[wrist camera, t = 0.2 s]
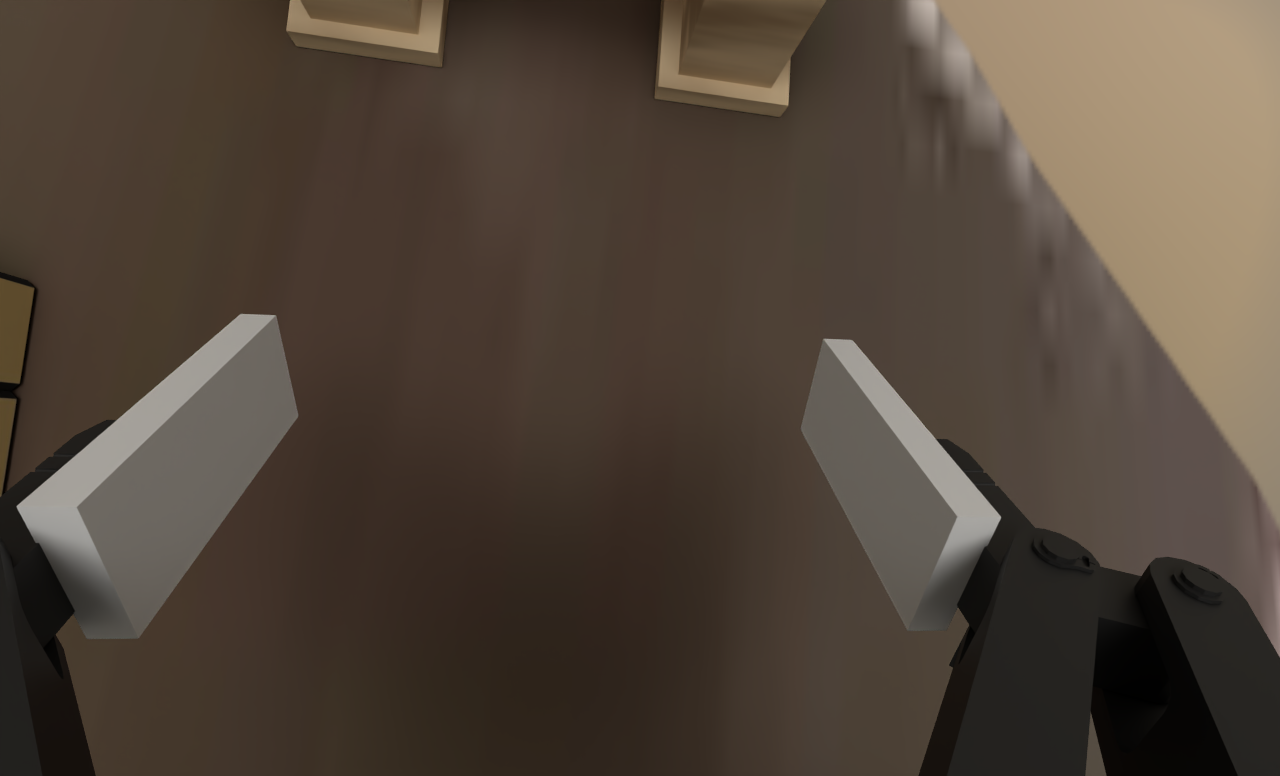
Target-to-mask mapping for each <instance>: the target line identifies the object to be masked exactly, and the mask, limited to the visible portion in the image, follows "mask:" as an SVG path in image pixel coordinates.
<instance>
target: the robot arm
mask: <svg viewBox="0 0 1280 776" xmlns="http://www.w3.org/2000/svg"><path fill="white" fill-rule="evenodd" d="M297 417H298V412H297V407H296V403H295V398H294V394H293V390H292V385H291V381H290V376H289V372H288V367H287V363H286V358H285V354H284V349H283V345H282V340H281V336H280V331H279V327H278V322H277V318H276V315H253V314H240V315H239V316H238V317H237V318H236V319H234V320H233V321H232V322H231V323H230V324H229V325H227V326H226V327H225V328H224V329H223V330H222V331H220V332H219V333H218V334H217V335H216V336H215V337H213V338H212V339H211V340H210V341H209V342H208V343H206V344H205V345H204V346H203V347H202V348H201V349H199V350H198V351H197V352H196V353H195V354H194V355H192V356H191V357H190V358H189V359H188V360H187V361H185V362H184V363H183V364H182V365H181V366H180V367H178V368H177V369H176V370H175V371H174V372H173V373H171V374H170V375H169V376H168V377H167V378H166V379H164V380H163V381H162V382H161V383H160V384H159V385H157V386H156V387H155V388H154V389H153V390H152V391H150V392H149V393H148V394H147V395H146V396H145V397H143V398H142V399H141V400H140V401H139V402H138V403H136V404H135V405H134V406H133V407H132V408H131V409H129V410H128V411H127V412H126V413H125V414H124V415H122V416H121V417H120V418H119V419H118V420H106V421H104V422H102V423H100V424H97V425H95V426H93V427H91V428H89V429H87V430H85V431H83V432H81V433H79V434H77V435H75V436H74V437H73V438H72V439H70V440H69V441H68V442H67V443H66V444H64V445H63V446H62V447H61V448H59V449H58V450H57V451H56V452H55V453H54V456H53V457H48V458H47V459H46V460H45V461H44V462H42V463H41V464H40V465H39V466H37V467H36V468H35V469H36V470H35V472H30V473H29V474H28V475H26V476H25V477H24V478H23V479H21V480H20V481H19V482H18V483H17V484H15V485H14V486H13V487H12V488H10V489H9V490H8V491H7V492H6V493H4V494H3V495H2V496H1V497H0V776H96V775H95V771H94V767H93V763H92V759H91V755H90V751H89V747H88V743H87V740H86V736H85V732H84V728H83V724H82V720H81V716H80V712H79V708H78V704H77V700H76V696H75V692H74V688H73V684H72V680H71V676H70V672H69V668H68V664H67V661H66V657H65V653H64V649H63V647H62V645H61V643H60V642H59V640H58V638H57V636H56V633H57V632H58V631H59V630H60V628H61V627H62V626H63V625H64V624H65V623H66V621H67V620H68V619H69V618H70V617H71V616H72V614H74V616H75V618H76V620H77V621H78V623H79V625H80V627H81V629H82V631H83V633H84V635H85V636H86V638H87V639H127V638H139V637H140V635H141V634H142V633H143V631H144V630H145V629H146V627H147V626H148V624H149V623H150V622H151V620H152V619H153V617H154V616H155V615H156V613H157V612H158V610H159V609H160V608H161V606H162V605H163V604H164V602H165V601H166V599H167V598H168V597H169V595H170V594H171V592H172V591H173V590H174V588H175V587H176V585H177V584H178V583H179V581H180V580H181V579H182V577H183V576H184V574H185V573H186V572H187V570H188V569H189V567H190V566H191V565H192V563H193V562H194V560H195V559H196V558H197V556H198V555H199V554H200V552H201V551H202V549H203V548H204V547H205V545H206V544H207V542H208V541H209V540H210V538H211V537H212V535H213V534H214V533H215V531H216V530H217V528H218V527H219V526H220V524H221V523H222V522H223V520H224V519H225V517H226V516H227V515H228V513H229V512H230V510H231V509H232V508H233V506H234V505H235V503H236V502H237V501H238V499H239V498H240V497H241V495H242V494H243V492H244V491H245V490H246V488H247V487H248V485H249V484H250V483H251V481H252V480H253V478H254V477H255V476H256V474H257V473H258V472H259V470H260V469H261V467H262V466H263V465H264V463H265V462H266V460H267V459H268V458H269V456H270V455H271V453H272V452H273V451H274V449H275V448H276V447H277V445H278V444H279V442H280V441H281V440H282V438H283V437H284V435H285V434H286V433H287V431H288V430H289V428H290V427H291V426H292V424H293V423H294V422H295V420H296V419H297ZM801 431H802V433H803V435H804V437H805V439H806V441H807V442H808V444H809V446H810V448H811V450H812V452H813V454H814V456H815V458H816V459H817V461H818V463H819V465H820V467H821V469H822V471H823V473H824V474H825V476H826V478H827V480H828V482H829V484H830V486H831V488H832V489H833V491H834V493H835V495H836V497H837V499H838V501H839V503H840V505H841V506H842V508H843V510H844V512H845V514H846V516H847V518H848V520H849V521H850V523H851V525H852V527H853V529H854V531H855V533H856V535H857V537H858V538H859V540H860V542H861V544H862V546H863V548H864V550H865V552H866V553H867V555H868V557H869V559H870V561H871V563H872V565H873V567H874V569H875V570H876V572H877V574H878V576H879V578H880V580H881V582H882V584H883V585H884V587H885V589H886V591H887V593H888V595H889V597H890V599H891V600H892V602H893V604H894V606H895V608H896V610H897V612H898V614H899V616H900V617H901V619H902V621H903V623H904V625H905V627H906V629H907V631H933V630H947V629H948V627H949V625H950V622H951V620H952V618H953V616H954V614H955V612H956V610H957V608H959V609H960V611H961V612H962V614H963V615H964V617H965V619H966V620H967V622H968V623H969V627H968V629H967V631H966V633H965V635H964V637H963V639H962V641H961V643H960V645H959V647H958V648H957V650H956V652H955V654H954V656H953V658H952V660H951V662H950V664H949V666H951V667H953V670H952V673H951V676H950V679H949V683H948V686H947V689H946V692H945V695H944V698H943V701H942V704H941V707H940V710H939V714H938V717H937V720H936V723H935V726H934V729H933V732H932V735H931V738H930V742H929V745H928V748H927V751H926V754H925V757H924V760H923V763H922V766H921V770H920V773H919V776H1085V770H1086V759H1087V747H1088V735H1089V723H1090V711H1091V714H1092V718H1093V722H1094V726H1095V730H1096V734H1097V738H1098V742H1099V746H1100V750H1101V754H1102V758H1103V762H1104V766H1105V770H1106V775H1107V776H1280V657H1279V656H1278V654H1277V652H1276V650H1275V649H1274V647H1273V645H1272V644H1271V642H1270V640H1269V638H1268V637H1267V635H1266V633H1265V632H1264V630H1263V628H1262V626H1261V625H1260V623H1259V621H1258V620H1257V618H1256V616H1255V614H1254V613H1253V611H1252V609H1251V608H1250V606H1249V604H1248V602H1247V601H1246V600H1245V598H1244V597H1243V596H1242V595H1241V594H1240V592H1239V591H1238V590H1237V589H1236V588H1235V587H1233V586H1232V585H1231V584H1230V583H1228V582H1227V581H1226V580H1224V579H1223V578H1222V577H1221V576H1220V575H1218V574H1216V573H1215V572H1213V571H1209V569H1207V568H1205V567H1203V566H1201V565H1197V564H1194V563H1191V562H1189V561H1186V560H1182V559H1177V558H1171V557H1163V558H1156V559H1155V560H1153V561H1152V562H1151V563H1150V564H1149V566H1148V567H1147V569H1146V570H1145V572H1144V573H1143V575H1142V576H1138V575H1133V574H1129V573H1125V572H1121V571H1116V570H1112V569H1108V568H1103V567H1100V564H1099V563H1098V561H1097V560H1096V559H1095V558H1094V556H1093V555H1092V554H1091V553H1090V552H1089V551H1088V550H1086V549H1085V548H1084V547H1082V546H1081V545H1080V544H1078V543H1077V542H1075V541H1074V540H1072V539H1070V538H1068V537H1066V536H1064V535H1062V534H1059V533H1056V532H1053V531H1050V530H1046V529H1040V528H1035V527H1034V526H1033V525H1032V524H1031V523H1030V522H1029V520H1028V519H1027V518H1026V517H1025V516H1024V515H1023V514H1022V513H1021V511H1020V510H1019V509H1018V508H1017V507H1016V506H1015V505H1014V504H1013V502H1012V501H1011V500H1010V499H1009V498H1008V497H1007V496H1006V495H1005V493H1004V492H1003V491H1002V490H1001V489H1000V488H999V487H998V486H995V482H994V481H993V480H992V479H991V478H990V477H989V476H988V474H987V473H983V469H982V468H981V467H980V465H979V464H978V463H977V462H976V461H975V460H974V459H973V458H972V456H971V455H970V454H969V453H967V452H966V451H964V450H963V449H961V448H960V447H958V446H957V445H955V444H954V443H952V442H951V441H949V440H948V439H935V438H934V437H933V435H932V434H931V433H930V432H929V431H928V430H927V428H926V427H925V426H924V425H923V424H922V422H921V421H920V420H919V419H918V418H917V416H916V415H915V414H914V413H913V412H912V410H911V409H910V408H909V407H908V406H907V405H906V403H905V402H904V401H903V400H902V399H901V397H900V396H899V395H898V394H897V393H896V391H895V390H894V389H893V388H892V387H891V386H890V384H889V383H888V382H887V381H886V380H885V378H884V377H883V376H882V375H881V374H880V372H879V371H878V370H877V369H876V368H875V367H874V365H873V364H872V363H871V362H870V361H869V359H868V358H867V357H866V356H865V355H864V353H863V352H862V351H861V350H860V349H859V348H858V346H857V345H856V344H855V343H854V342H853V340H838V339H823V342H822V346H821V350H820V354H819V358H818V362H817V366H816V370H815V374H814V378H813V382H812V386H811V390H810V394H809V398H808V402H807V406H806V410H805V413H804V417H803V421H802V425H801Z"/></svg>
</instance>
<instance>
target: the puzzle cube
mask: <svg viewBox="0 0 1280 776" xmlns="http://www.w3.org/2000/svg"><path fill="white" fill-rule="evenodd" d="M34 289H35V288H34V287H33V286H32V285H31V284H30V282H29V281H28V280H24V279H21V278H18V277H15V276H11V275H8V274H5V273H1V272H0V497H1V496H2V493H3V486H4V480H5V473H6V467H7V460H8V454H9V447H10V441H11V434H12V428H13V422H14V415H15V409H16V402H17V398H16V397H15V396H14V395H13V394H12V393H11V391H4V390H12V389H13V388H15V387H16V386H17V385H19V384H20V379H21V373H22V366H23V360H24V353H25V347H26V340H27V334H28V327H29V321H30V314H31V308H32V302H33V295H34Z"/></svg>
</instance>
